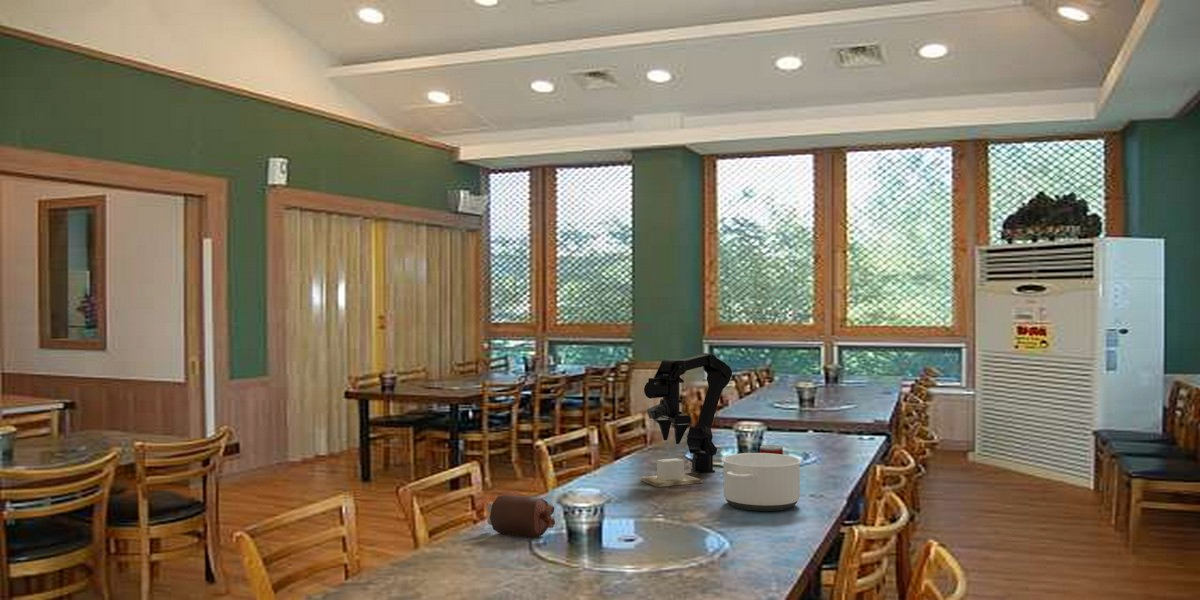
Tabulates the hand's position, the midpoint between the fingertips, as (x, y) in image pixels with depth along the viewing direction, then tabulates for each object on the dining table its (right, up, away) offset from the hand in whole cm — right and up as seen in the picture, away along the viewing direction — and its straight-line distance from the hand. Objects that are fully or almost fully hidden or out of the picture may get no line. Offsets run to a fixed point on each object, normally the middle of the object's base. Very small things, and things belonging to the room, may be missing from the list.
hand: (671, 442), depth 322 cm
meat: (-45, -12, -79) cm, 91 cm away
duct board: (-1, -12, -8) cm, 14 cm away
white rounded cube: (-1, -11, -8) cm, 13 cm away
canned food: (+33, -12, -4) cm, 36 cm away
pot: (+23, -12, -44) cm, 52 cm away
